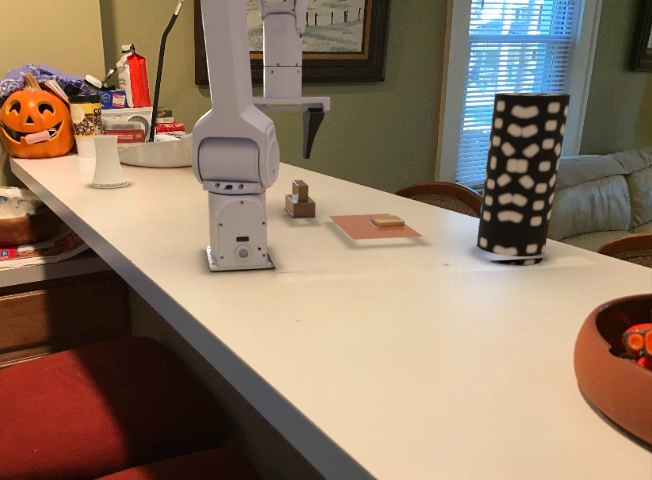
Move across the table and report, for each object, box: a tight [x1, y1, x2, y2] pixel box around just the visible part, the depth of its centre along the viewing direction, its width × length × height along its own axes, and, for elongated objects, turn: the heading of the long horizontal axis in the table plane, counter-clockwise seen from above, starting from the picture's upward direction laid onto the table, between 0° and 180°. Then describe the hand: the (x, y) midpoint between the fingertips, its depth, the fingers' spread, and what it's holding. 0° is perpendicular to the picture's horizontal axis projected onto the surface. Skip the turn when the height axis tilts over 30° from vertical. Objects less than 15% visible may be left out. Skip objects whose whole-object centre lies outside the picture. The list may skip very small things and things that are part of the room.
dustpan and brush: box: [118, 132, 192, 169], centre depth 150 cm, size 23×33×10 cm
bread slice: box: [370, 214, 406, 227], centre depth 91 cm, size 4×4×1 cm
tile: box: [328, 213, 423, 241], centre depth 90 cm, size 14×10×1 cm
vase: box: [90, 134, 129, 189], centre depth 126 cm, size 8×8×10 cm
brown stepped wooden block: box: [284, 179, 316, 219], centre depth 97 cm, size 7×4×6 cm, turn 9°
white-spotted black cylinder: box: [476, 92, 571, 266], centre depth 76 cm, size 8×8×20 cm
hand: (282, 158), depth 96 cm, fingers open, 7 cm apart
